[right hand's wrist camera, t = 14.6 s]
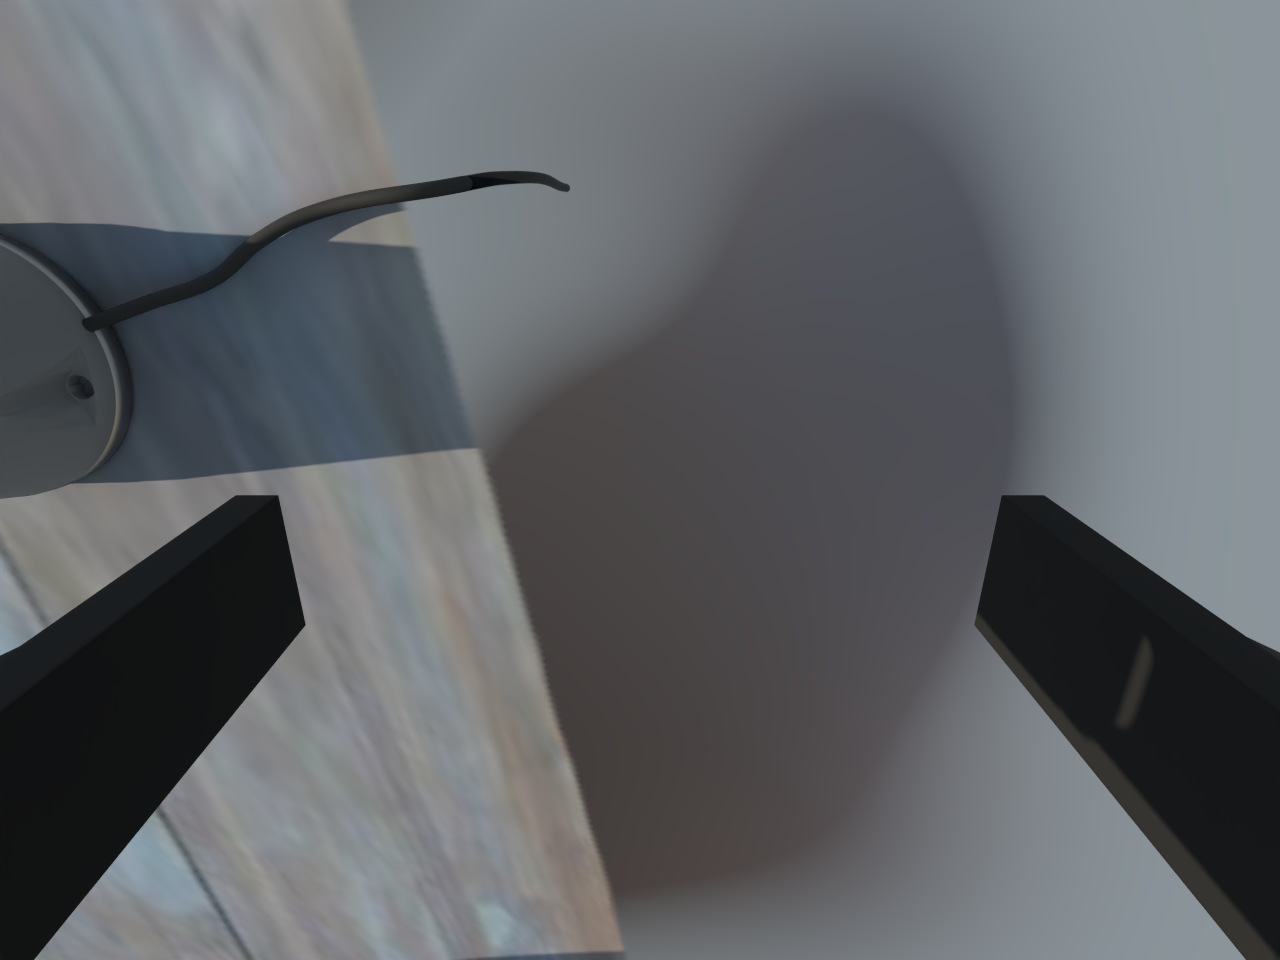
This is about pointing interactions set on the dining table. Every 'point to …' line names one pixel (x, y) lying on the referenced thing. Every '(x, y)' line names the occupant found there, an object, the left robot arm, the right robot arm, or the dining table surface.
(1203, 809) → the right robot arm
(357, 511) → the dining table surface
